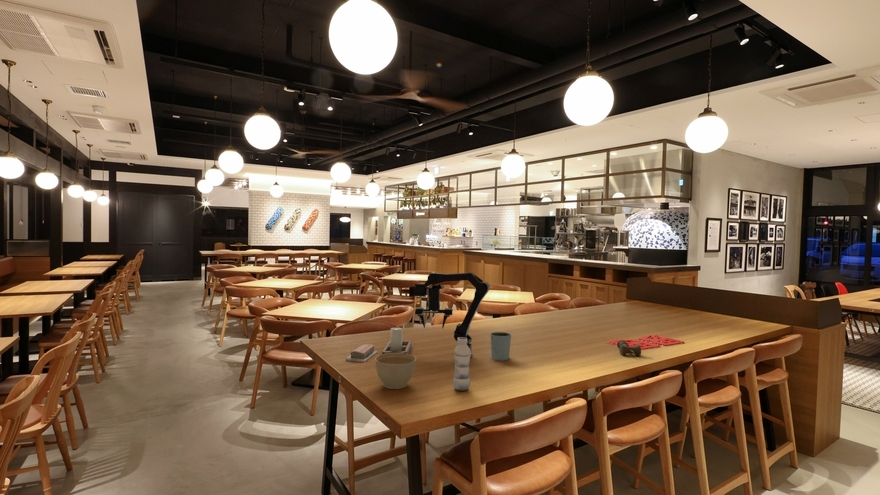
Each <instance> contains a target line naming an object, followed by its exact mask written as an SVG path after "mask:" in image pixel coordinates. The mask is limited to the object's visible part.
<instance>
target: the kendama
mask: <svg viewBox="0 0 880 495" xmlns="http://www.w3.org/2000/svg"><path fill="white" fill-rule="evenodd" d="M619 340H620V339H619ZM624 340H625V339H624ZM624 340H620V341H618V343H617V345H616V346H617V348H618V350H619V354H620V356H622V355H623V356H625V355H629V354H633V355H635V356H638V357H641V355H642V350H641V347H640V345H639V344H637V345H634V346H633V347H629V345H628V343H626V341H624Z"/></svg>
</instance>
